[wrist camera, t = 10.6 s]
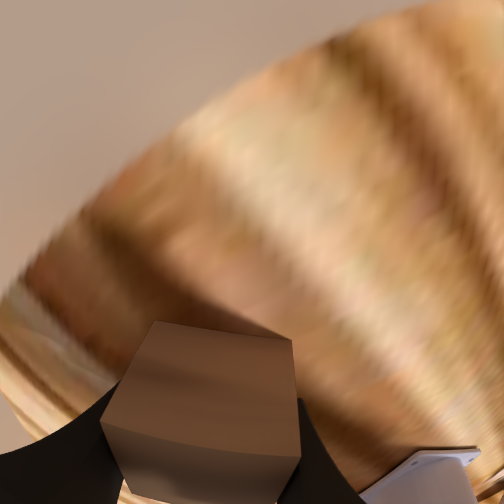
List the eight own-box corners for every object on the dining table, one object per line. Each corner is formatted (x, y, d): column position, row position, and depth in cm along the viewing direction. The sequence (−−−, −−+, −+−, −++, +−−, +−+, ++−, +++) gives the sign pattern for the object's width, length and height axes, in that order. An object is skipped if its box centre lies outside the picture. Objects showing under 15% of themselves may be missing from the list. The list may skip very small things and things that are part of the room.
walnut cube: (269, 421, 12) (267, 516, 8) (162, 405, 12) (131, 493, 8) (291, 339, 11) (301, 456, 6) (155, 319, 11) (99, 420, 6)
